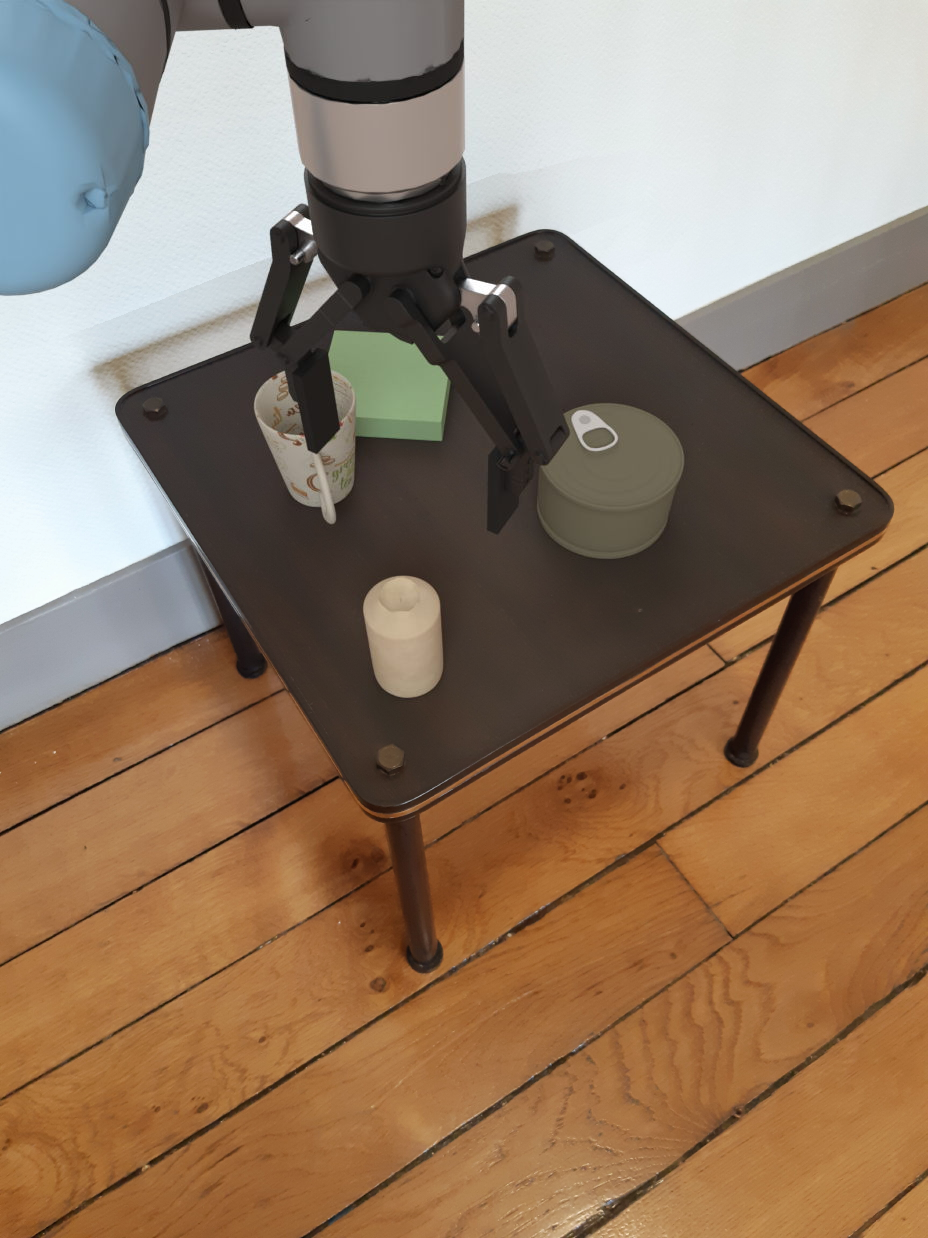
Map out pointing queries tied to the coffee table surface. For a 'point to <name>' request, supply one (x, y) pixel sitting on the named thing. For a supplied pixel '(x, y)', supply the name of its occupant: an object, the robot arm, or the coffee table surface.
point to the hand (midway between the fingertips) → (410, 477)
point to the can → (610, 481)
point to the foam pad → (391, 386)
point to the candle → (404, 635)
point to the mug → (302, 470)
